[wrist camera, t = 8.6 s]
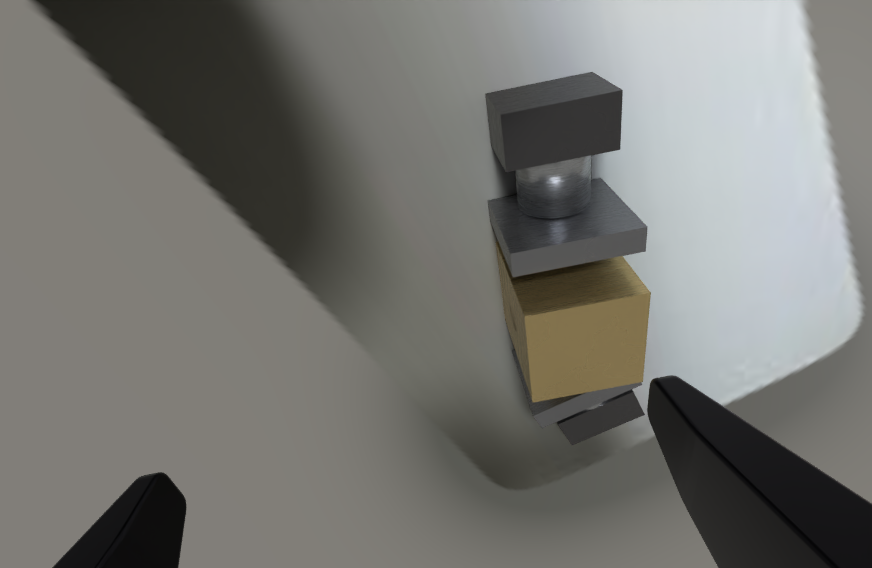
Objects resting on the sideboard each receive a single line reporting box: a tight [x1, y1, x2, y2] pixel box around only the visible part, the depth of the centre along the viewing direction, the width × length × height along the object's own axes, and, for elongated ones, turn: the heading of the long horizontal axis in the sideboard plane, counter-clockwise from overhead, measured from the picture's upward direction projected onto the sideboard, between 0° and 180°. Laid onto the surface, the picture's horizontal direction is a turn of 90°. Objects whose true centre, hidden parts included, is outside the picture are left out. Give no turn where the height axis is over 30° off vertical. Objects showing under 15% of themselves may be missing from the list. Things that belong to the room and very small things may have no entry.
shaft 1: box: [512, 349, 645, 445], centre depth 25 cm, size 5×5×4 cm
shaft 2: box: [486, 72, 647, 277], centre depth 18 cm, size 5×5×4 cm
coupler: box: [496, 242, 651, 402], centre depth 21 cm, size 4×4×6 cm
